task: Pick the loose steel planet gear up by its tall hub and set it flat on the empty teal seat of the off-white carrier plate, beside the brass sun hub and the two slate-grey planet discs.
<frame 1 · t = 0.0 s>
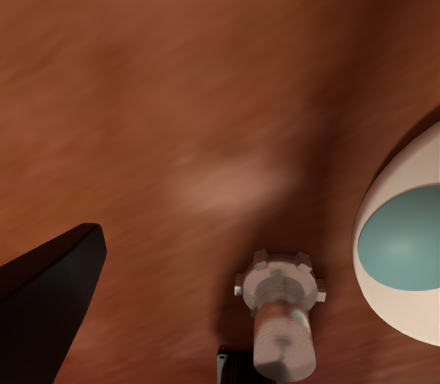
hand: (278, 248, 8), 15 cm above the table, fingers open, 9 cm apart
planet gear: (278, 280, 28), on the table
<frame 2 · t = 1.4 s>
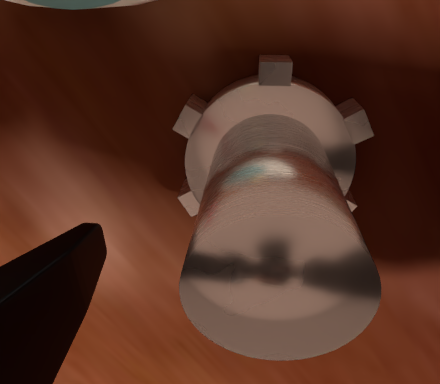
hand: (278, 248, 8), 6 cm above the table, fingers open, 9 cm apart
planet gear: (266, 152, 13), on the table
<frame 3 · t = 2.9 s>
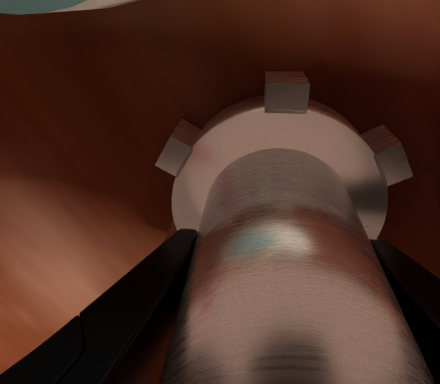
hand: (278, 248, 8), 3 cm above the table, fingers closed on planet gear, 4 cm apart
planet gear: (273, 188, 11), on the table, touching gripper
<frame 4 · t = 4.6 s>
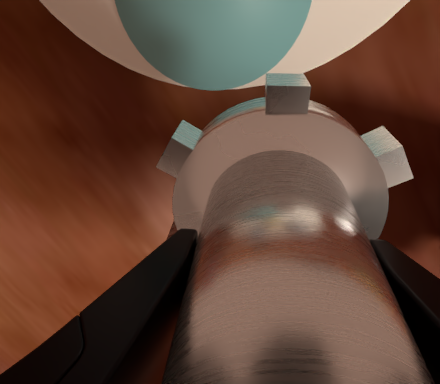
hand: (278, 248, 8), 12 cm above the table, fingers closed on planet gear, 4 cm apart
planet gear: (274, 189, 11), point 9 cm above the table, touching gripper
when the fingers open (6 cm above the table, at t = 6.5 s): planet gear drops 1 cm, resting on carrier plate.
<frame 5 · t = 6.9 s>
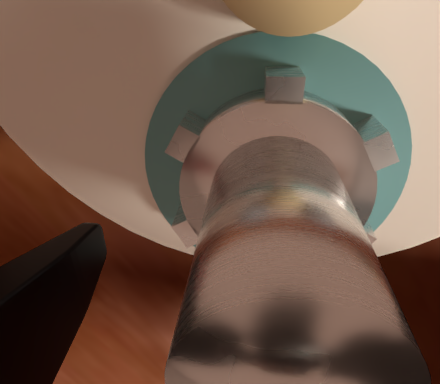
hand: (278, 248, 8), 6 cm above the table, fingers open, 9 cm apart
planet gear: (272, 175, 12), point 2 cm above the table, touching carrier plate
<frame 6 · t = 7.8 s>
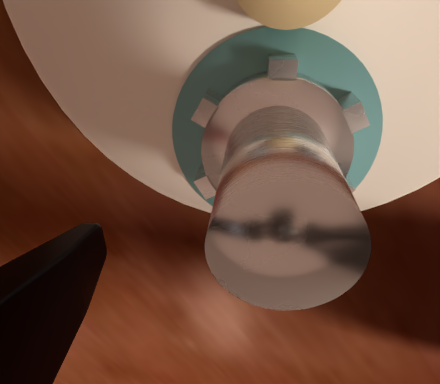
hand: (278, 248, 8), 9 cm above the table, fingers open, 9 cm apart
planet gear: (274, 141, 15), point 2 cm above the table, touching carrier plate
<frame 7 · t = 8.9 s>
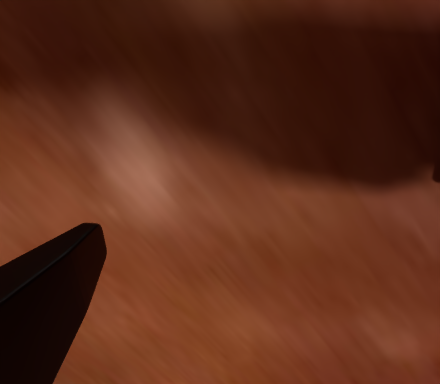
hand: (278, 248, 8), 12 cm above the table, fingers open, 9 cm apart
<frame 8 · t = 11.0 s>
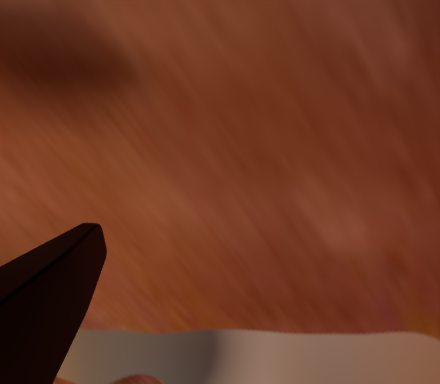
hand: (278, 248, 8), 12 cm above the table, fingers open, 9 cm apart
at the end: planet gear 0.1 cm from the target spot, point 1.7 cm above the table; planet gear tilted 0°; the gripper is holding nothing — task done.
